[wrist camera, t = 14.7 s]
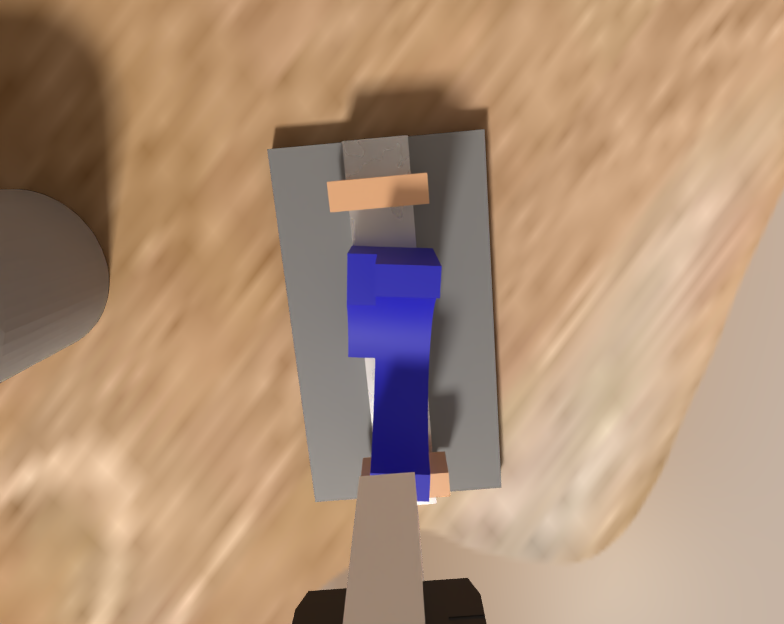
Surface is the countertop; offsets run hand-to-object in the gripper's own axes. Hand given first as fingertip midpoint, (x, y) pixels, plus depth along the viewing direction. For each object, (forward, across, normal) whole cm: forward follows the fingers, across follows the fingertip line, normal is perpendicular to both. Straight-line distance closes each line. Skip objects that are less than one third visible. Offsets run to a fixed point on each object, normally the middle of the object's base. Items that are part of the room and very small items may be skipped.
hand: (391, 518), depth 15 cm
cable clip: (+18, 0, -1) cm, 18 cm away
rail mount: (+20, 0, 0) cm, 20 cm away
